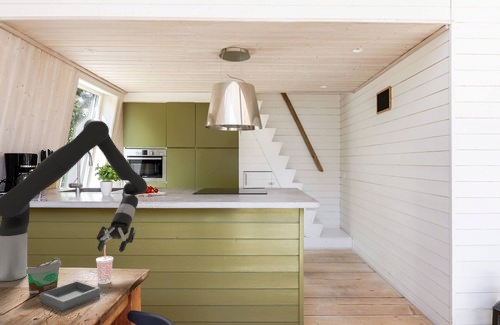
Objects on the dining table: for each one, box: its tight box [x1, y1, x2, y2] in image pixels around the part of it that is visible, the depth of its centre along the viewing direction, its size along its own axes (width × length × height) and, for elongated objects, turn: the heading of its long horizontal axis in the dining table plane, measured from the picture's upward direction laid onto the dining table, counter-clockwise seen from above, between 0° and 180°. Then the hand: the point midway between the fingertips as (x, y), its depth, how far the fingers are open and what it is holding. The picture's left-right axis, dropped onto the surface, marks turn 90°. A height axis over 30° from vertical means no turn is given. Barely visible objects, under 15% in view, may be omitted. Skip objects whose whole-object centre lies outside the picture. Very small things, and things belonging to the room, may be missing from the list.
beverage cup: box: [95, 244, 114, 285], centre depth 121 cm, size 6×6×14 cm
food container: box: [26, 256, 62, 297], centre depth 112 cm, size 12×6×10 cm, turn 168°
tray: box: [39, 280, 101, 312], centre depth 105 cm, size 13×13×3 cm
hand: (110, 250), depth 125 cm, fingers open, 8 cm apart
